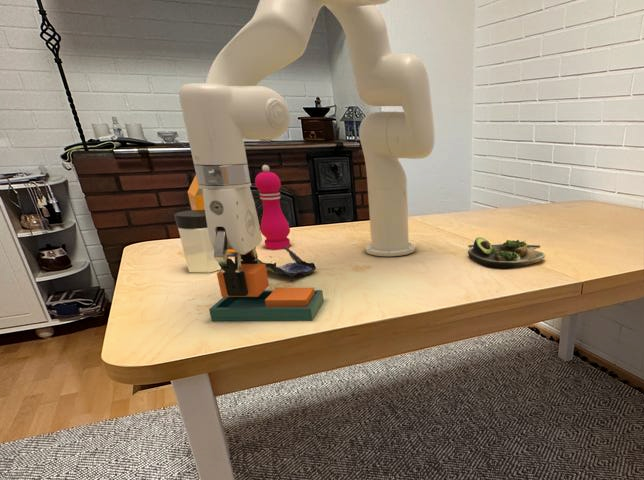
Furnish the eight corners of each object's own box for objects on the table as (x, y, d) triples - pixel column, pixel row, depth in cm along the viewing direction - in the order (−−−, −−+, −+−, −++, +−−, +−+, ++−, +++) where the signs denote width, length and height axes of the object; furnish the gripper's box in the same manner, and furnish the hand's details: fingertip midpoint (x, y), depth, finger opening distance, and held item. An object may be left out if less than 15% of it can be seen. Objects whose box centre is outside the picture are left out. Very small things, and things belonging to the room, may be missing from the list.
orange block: (234, 285, 83) (230, 263, 81) (269, 285, 83) (265, 263, 81) (221, 296, 77) (216, 273, 76) (258, 296, 78) (254, 273, 76)
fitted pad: (278, 300, 85) (276, 287, 84) (315, 300, 85) (314, 287, 84) (267, 314, 79) (264, 300, 78) (307, 313, 79) (305, 299, 78)
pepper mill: (282, 242, 128) (270, 163, 119) (297, 246, 124) (286, 164, 115) (258, 246, 123) (243, 164, 114) (273, 251, 119) (259, 166, 110)
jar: (230, 270, 104) (218, 214, 98) (189, 275, 100) (174, 217, 95) (225, 260, 111) (214, 208, 105) (186, 265, 107) (173, 211, 102)
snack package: (299, 263, 109) (248, 271, 102) (298, 237, 106) (246, 243, 99) (323, 284, 102) (271, 294, 95) (323, 256, 99) (269, 264, 92)
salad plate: (521, 245, 126) (522, 228, 124) (563, 262, 112) (565, 242, 110) (457, 253, 118) (457, 235, 116) (494, 271, 104) (495, 251, 102)
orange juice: (208, 259, 112) (187, 169, 102) (200, 251, 118) (180, 166, 109) (242, 254, 116) (225, 167, 107) (233, 247, 122) (216, 165, 113)
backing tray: (233, 301, 86) (230, 290, 85) (323, 300, 87) (322, 289, 86) (211, 321, 78) (208, 309, 77) (312, 320, 78) (310, 308, 77)
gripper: (226, 183, 64) (250, 306, 72) (265, 171, 80) (281, 274, 88) (171, 182, 64) (201, 306, 72) (221, 171, 79) (241, 274, 88)
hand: (245, 288), depth 80 cm, fingers closed on orange block, 6 cm apart
